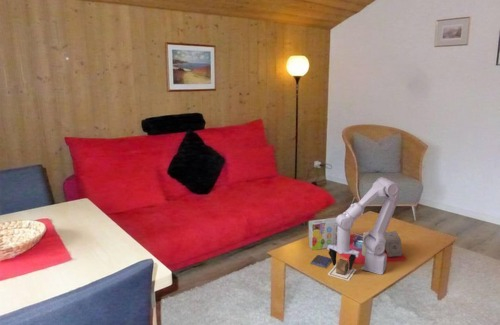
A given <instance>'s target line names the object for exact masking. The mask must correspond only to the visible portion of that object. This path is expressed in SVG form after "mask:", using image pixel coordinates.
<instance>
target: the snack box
mask: <svg viewBox="0 0 500 325" xmlns="http://www.w3.org/2000/svg"><path fill="white" fill-rule="evenodd" d="M337 217H338V216H336V217H328V218H322V219H321V218H320V219H314V220H308V247H309V249H311V250H312V251H316V250H323V249H327V246H328V245H337V228H338V225H337V224H336V222H335V220H336V219H337Z"/></svg>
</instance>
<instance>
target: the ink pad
mask: <svg viewBox="0 0 500 325" xmlns="http://www.w3.org/2000/svg"><path fill="white" fill-rule="evenodd" d="M331 263H333V262H332V259H331V257H327V256H325V255H321V254H317V255H316V256H315V257H314V258H313V259H312V260H311V261H310V262H309V264H310V265H312V266H315V267H316V266H317V267H319V268H323V269H327V267H328V266H329V265H330V264H331Z"/></svg>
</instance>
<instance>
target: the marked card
mask: <svg viewBox="0 0 500 325" xmlns="http://www.w3.org/2000/svg"><path fill="white" fill-rule="evenodd" d="M356 271H357V268H356V269H355V268H353V267H352V269H351V270H349V266H348V271H347V273H346V274H345V275H341V274H337V273H336V264H335V266H333V267H332V269H330V271H329V272H328V273H327V276H330V277H334V278H337V279H341V280H344V281H347V282H349V281H350V280H351V279H352V277H353V276H354V274H355V273H356Z"/></svg>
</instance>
